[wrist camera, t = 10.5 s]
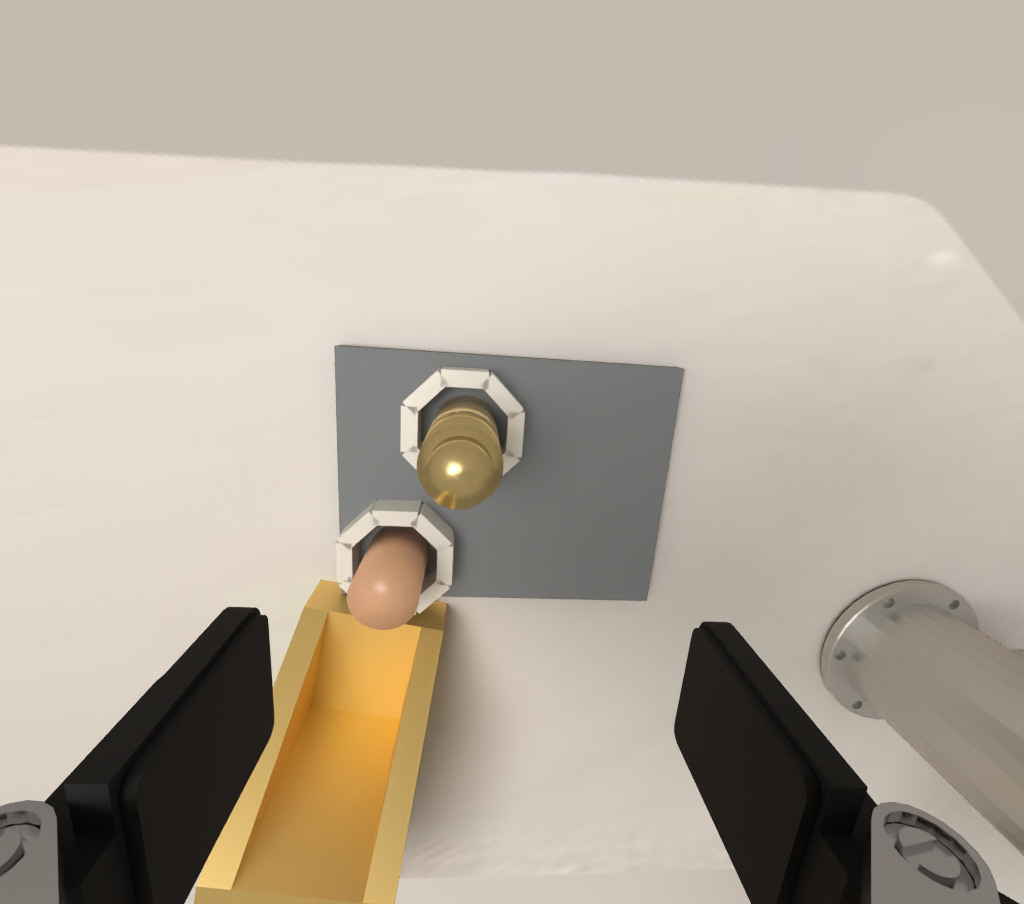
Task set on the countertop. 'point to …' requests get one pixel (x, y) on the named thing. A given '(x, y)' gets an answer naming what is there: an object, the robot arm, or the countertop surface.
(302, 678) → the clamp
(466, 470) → the gold rounded cylinder
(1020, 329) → the countertop surface
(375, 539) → the joined fitting
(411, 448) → the white octagonal ring
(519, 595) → the mat
